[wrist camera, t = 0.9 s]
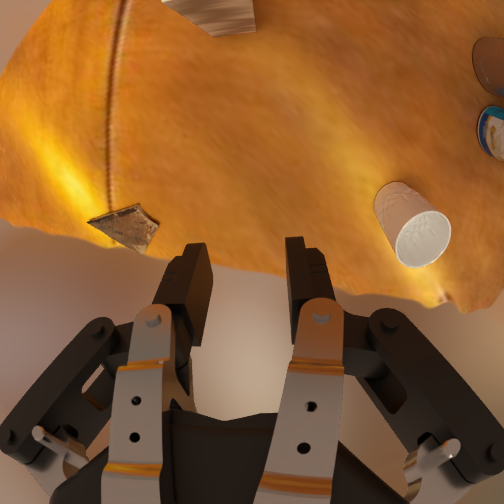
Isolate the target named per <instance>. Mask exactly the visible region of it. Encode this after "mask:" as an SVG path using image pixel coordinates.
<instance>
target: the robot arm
mask: <svg viewBox="0 0 504 504" xmlns="http://www.w3.org/2000/svg"><path fill="white" fill-rule="evenodd" d="M473 64H474V69H475V72H476V75H477V77H478V79H479V81H480V82H481V84H482V86H483V87H484V88H485V89H486V90H487V91H489V92H490V93H492V94H494V95H498V96H501V97H504V39H500V38H482V39H479V40H478V41H477V42H476V44H475V46H474V49H473ZM285 249H286V273H287V287H288V299H289V312H290V324H291V339H292V344H294V350H293V355H292V360H291V361H290V363H289V366H288V370H287V375H286V379H285V384H284V389H283V394H282V398H281V403H280V408H279V412H278V413H260V414H256V415H252V416H247V417H243V418H238V419H234V420H228V421H221V420H217V419H214V418H211V417H208V416H204V415H201V414H198V413H197V410H196V407H195V403H194V394H193V375H192V359H191V356H190V352H191V347H192V346H201V342H202V337H203V332H204V327H205V322H206V317H207V312H208V306H209V302H210V297H211V291H212V286H213V273H212V269H211V264H210V260H209V255H208V251H207V247H206V244H205V243H191V244H187V245H186V247H185V249H184V252H183V254H182V256H176V257H175V258H174V259H173V260H172V261H171V262H170V263H169V264H168V266H167V268H166V270H165V274H164V275H163V278H162V281H161V282H160V285H159V287H158V290H157V292H156V295H155V297H154V300H153V302H152V305H149V306H147V307H145V308H143V309H142V310H140V311H139V313H138V314H137V315H136V317H135V319H134V322H130V323H126V324H122V325H118V326H115V325H114V323H113V321H112V320H111V319H109V318H107V317H99V318H96V319H94V320H92V321H90V322H89V323H88V324H87V325H86V326H85V327H84V328H83V329H82V330H81V331H80V332H79V333H78V334H77V335H76V337H75V338H74V339H73V340H72V341H71V342H70V343H69V344H68V345H67V346H66V347H65V349H64V350H63V351H62V352H61V353H60V354H59V355H58V356H57V357H56V359H55V360H54V361H53V362H52V363H51V364H50V365H49V367H48V368H47V369H46V370H45V371H44V372H43V373H42V375H41V376H40V377H39V378H38V379H37V380H36V382H35V383H34V384H33V385H32V386H31V387H30V389H29V390H28V391H27V392H26V394H25V395H24V396H23V397H22V398H21V400H20V401H19V402H18V403H17V405H16V406H15V407H14V408H13V410H12V411H11V412H10V414H9V415H8V416H7V417H6V419H5V420H4V421H3V423H2V424H1V426H0V449H1V451H2V452H3V453H5V454H7V455H8V456H10V457H12V458H13V459H15V460H17V461H18V462H19V463H21V464H22V465H24V466H25V467H26V468H27V469H28V471H29V472H30V473H31V475H32V476H33V477H34V478H35V480H36V481H37V482H38V483H39V485H40V486H41V487H42V488H43V489H44V491H45V492H46V493H47V494H48V495H49V496H50V502H49V504H455V503H456V502H457V501H458V500H459V499H460V498H462V497H463V496H464V495H465V494H466V493H467V492H468V491H469V490H470V489H471V488H472V487H473V486H474V485H475V484H477V483H479V482H481V481H483V480H486V479H488V478H490V477H492V476H494V475H496V474H498V473H500V472H502V471H503V470H504V429H503V427H502V426H501V425H500V424H499V422H498V421H497V420H496V418H495V417H494V416H493V414H492V413H491V412H490V411H489V409H488V408H487V407H486V406H485V404H484V403H483V402H482V401H481V400H480V398H479V397H478V396H477V395H476V394H475V392H473V390H472V389H471V387H470V386H469V385H468V384H467V383H466V382H465V381H464V379H463V378H462V377H461V376H460V375H459V373H457V371H456V370H455V369H454V368H453V367H452V366H451V365H450V363H449V362H448V361H447V360H446V359H445V358H444V357H443V355H442V354H441V353H440V352H439V351H438V350H437V349H436V348H435V347H434V346H433V345H432V343H431V342H430V341H429V340H428V339H427V338H426V337H425V336H424V335H423V334H422V333H421V332H420V331H419V330H418V329H417V327H416V326H415V325H414V324H413V323H412V322H411V321H410V320H409V319H408V318H407V317H406V316H405V315H404V314H403V313H401V312H400V311H398V310H395V309H390V308H382V309H379V310H376V311H375V312H374V313H373V314H372V315H371V316H370V317H363V316H357V315H353V314H350V313H348V312H346V311H344V310H343V309H342V307H341V306H340V305H339V304H338V303H337V302H336V299H335V295H334V291H333V287H332V283H331V279H330V276H329V273H328V268H327V266H326V261H325V257H324V255H323V254H322V253H321V252H320V251H319V250H318V249H317V248H305V243H304V238H303V236H300V237H285ZM100 364H101V365H102V366H103V368H104V370H103V371H102V372H101V374H100V375H99V376H98V377H97V379H96V380H95V381H94V382H93V383H92V385H91V386H90V387H89V388H88V389H87V391H86V392H84V393H82V386H83V385H84V384H85V382H86V381H87V380H88V379H89V378H90V376H91V375H92V374H93V373H94V372H95V370H96V369H97V368H98V367H99V365H100ZM344 374H347V375H353V376H355V377H356V379H357V380H358V382H359V383H360V384H361V386H362V387H363V389H364V390H365V392H366V393H367V394H368V396H369V397H370V398H371V400H372V401H373V403H374V404H375V406H376V407H377V408H378V410H379V411H380V412H381V414H382V415H383V417H384V418H385V420H386V421H387V423H388V424H389V425H390V427H391V428H392V430H393V431H394V432H395V434H396V435H397V437H398V438H399V440H400V441H401V443H402V444H403V445H404V447H405V448H406V449H407V451H408V453H409V454H408V455H407V457H406V459H405V461H404V466H403V471H404V475H405V477H406V480H407V485H408V488H407V492H406V495H405V497H404V498H403V497H402V496H400V495H399V494H398V493H397V492H396V491H395V490H393V489H392V488H391V487H390V486H389V485H387V484H386V483H385V482H384V481H383V480H382V479H380V478H379V477H378V476H377V475H376V474H375V473H374V472H372V471H371V470H370V469H369V468H368V467H367V466H366V465H364V464H363V463H362V462H361V461H360V460H359V459H358V458H357V457H356V456H355V455H354V454H353V453H352V452H350V451H349V450H348V449H347V448H346V447H345V446H344V445H343V444H342V443H341V442H340V441H339V440H338V436H339V428H340V418H341V409H342V396H343V384H344ZM110 418H111V426H110V439H109V446H108V447H107V448H105V449H104V450H103V451H102V452H101V453H99V454H98V455H97V456H96V457H94V458H93V459H92V460H91V461H90V460H89V457H88V456H87V455H86V450H87V448H88V447H89V446H90V444H91V443H92V441H93V440H94V439H95V438H96V436H97V435H98V434H99V432H100V431H101V430H102V428H103V427H104V426H105V424H106V423H107V422H108V420H109V419H110Z"/></svg>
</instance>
